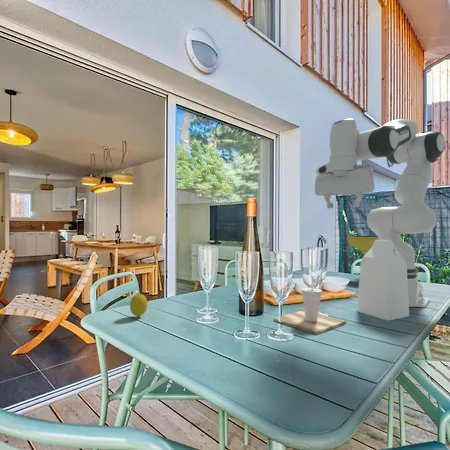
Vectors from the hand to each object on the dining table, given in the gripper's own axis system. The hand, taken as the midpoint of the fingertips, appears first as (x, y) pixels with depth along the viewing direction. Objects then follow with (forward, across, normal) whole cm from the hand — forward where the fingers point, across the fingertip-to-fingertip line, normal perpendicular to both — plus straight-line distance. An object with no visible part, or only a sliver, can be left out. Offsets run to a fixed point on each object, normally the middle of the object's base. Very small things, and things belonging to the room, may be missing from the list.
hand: (342, 207), depth 105 cm
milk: (+37, -7, -15) cm, 41 cm away
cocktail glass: (+37, +29, -74) cm, 88 cm away
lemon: (+37, +41, +55) cm, 78 cm away
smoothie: (+36, +2, +14) cm, 39 cm away
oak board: (+37, +3, +14) cm, 40 cm away
